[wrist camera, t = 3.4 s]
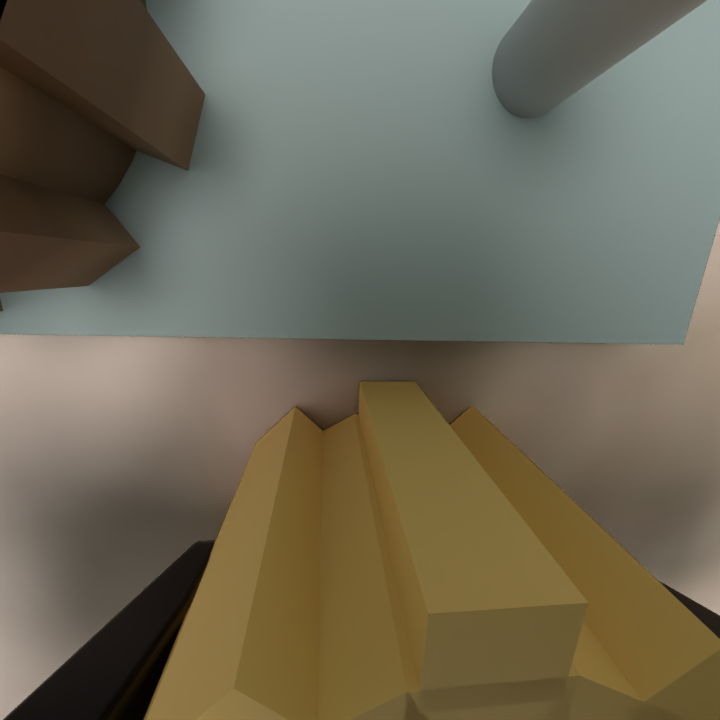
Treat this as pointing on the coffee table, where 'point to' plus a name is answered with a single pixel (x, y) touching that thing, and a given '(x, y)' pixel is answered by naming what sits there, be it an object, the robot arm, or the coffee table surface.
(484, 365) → the coffee table surface
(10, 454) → the coffee table surface
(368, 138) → the gear board
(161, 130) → the gear
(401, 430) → the gear
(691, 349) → the coffee table surface
